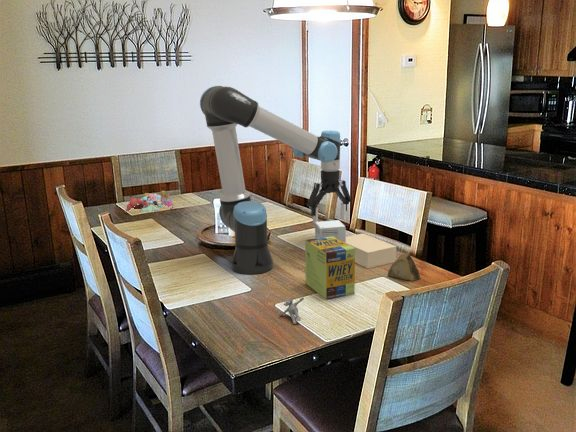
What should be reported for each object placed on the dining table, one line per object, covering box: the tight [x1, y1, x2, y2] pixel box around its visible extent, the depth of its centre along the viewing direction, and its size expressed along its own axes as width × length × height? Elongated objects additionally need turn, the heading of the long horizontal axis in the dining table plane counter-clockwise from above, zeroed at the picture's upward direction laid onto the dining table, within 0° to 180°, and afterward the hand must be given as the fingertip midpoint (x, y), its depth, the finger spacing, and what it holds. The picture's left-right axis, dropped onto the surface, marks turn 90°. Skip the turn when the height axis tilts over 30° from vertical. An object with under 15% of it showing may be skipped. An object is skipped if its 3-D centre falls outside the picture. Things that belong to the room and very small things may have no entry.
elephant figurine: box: [279, 297, 305, 325], centre depth 161 cm, size 9×5×8 cm
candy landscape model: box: [125, 190, 174, 212], centre depth 291 cm, size 25×24×9 cm
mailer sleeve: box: [346, 233, 397, 270], centre depth 211 cm, size 20×13×6 cm, turn 30°
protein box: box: [304, 236, 356, 300], centre depth 181 cm, size 10×15×16 cm
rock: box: [387, 253, 422, 281], centre depth 191 cm, size 10×8×10 cm
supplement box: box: [314, 219, 347, 243], centre depth 198 cm, size 10×9×17 cm
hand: (329, 221), depth 229 cm, fingers open, 13 cm apart
